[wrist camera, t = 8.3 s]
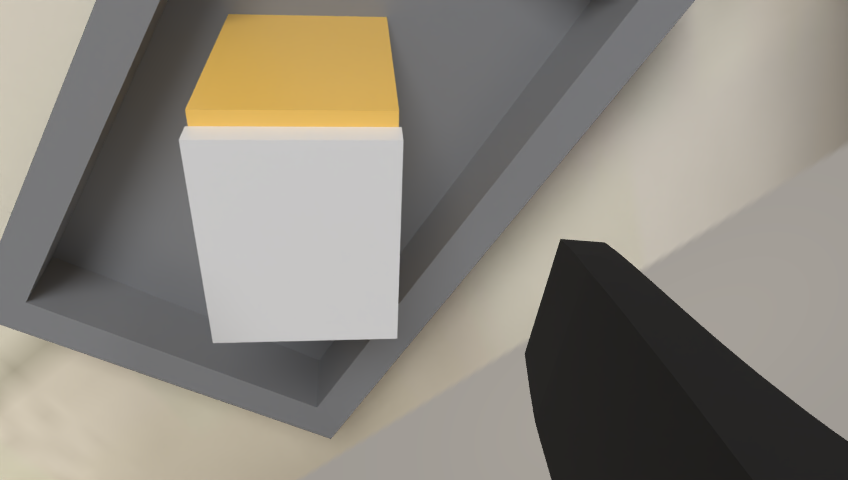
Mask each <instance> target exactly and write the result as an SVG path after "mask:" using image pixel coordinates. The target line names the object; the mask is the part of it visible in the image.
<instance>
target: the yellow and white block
mask: <svg viewBox="0 0 848 480" xmlns="http://www.w3.org/2000/svg"><path fill="white" fill-rule="evenodd" d="M185 112H186V118H187V124H188V126H185V127H184V129H183V131H182V134H181V136H180V138H179V145H180V151H181V157H182V162H183V168H184V174H185V180H186V186H187V192H188V198H189V204H190V210H191V216H192V222H193V228H194V234H195V240H196V246H197V251H198V257H199V263H200V269H201V275H202V281H203V287H204V293H205V299H206V305H207V311H208V317H209V323H210V329H211V335H212V341H213V343H237V342H278V341H319V340H360V339H397V329H398V297H399V265H400V233H401V202H402V170H403V133H402V127H399V106H398V98H397V90H396V83H395V75H394V68H393V60H392V52H391V45H390V37H389V29H388V22H387V17H358V16H303V15H249V14H228V16H227V18H226V20H225V23H224V25H223V27H222V29H221V31H220V34H219V36H218V38H217V40H216V42H215V45H214V47H213V49H212V51H211V53H210V56H209V58H208V60H207V62H206V64H205V67H204V69H203V71H202V73H201V76H200V78H199V80H198V82H197V84H196V87H195V89H194V91H193V93H192V95H191V98H190V100H189V102H188V104H187V106H186V109H185Z"/></svg>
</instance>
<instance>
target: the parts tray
mask: <svg viewBox="0 0 848 480" xmlns="http://www.w3.org/2000/svg"><path fill="white" fill-rule="evenodd" d="M694 1H695V0H96V2H95V5H94V7H93V10H92V12H91V15H90V17H89V20H88V22H87V25H86V27H85V30H84V32H83V35H82V37H81V40H80V42H79V45H78V47H77V50H76V53H75V55H74V58H73V60H72V63H71V65H70V68H69V70H68V73H67V75H66V78H65V80H64V83H63V85H62V88H61V90H60V93H59V95H58V98H57V100H56V103H55V105H54V108H53V110H52V113H51V115H50V118H49V120H48V123H47V125H46V128H45V130H44V133H43V135H42V138H41V141H40V143H39V146H38V148H37V151H36V153H35V156H34V158H33V161H32V163H31V166H30V168H29V171H28V173H27V176H26V178H25V181H24V183H23V186H22V188H21V191H20V193H19V196H18V198H17V201H16V203H15V206H14V208H13V211H12V213H11V216H10V218H9V221H8V223H7V226H6V228H5V231H4V234H3V236H2V239H1V241H0V325H3V326H6V327H9V328H12V329H15V330H17V331H20V332H23V333H26V334H29V335H32V336H35V337H38V338H41V339H44V340H46V341H49V342H52V343H55V344H58V345H61V346H64V347H67V348H70V349H72V350H75V351H78V352H81V353H84V354H87V355H90V356H93V357H96V358H98V359H101V360H104V361H107V362H110V363H113V364H116V365H119V366H122V367H125V368H127V369H130V370H133V371H136V372H139V373H142V374H145V375H148V376H151V377H153V378H156V379H159V380H162V381H165V382H168V383H171V384H174V385H177V386H180V387H182V388H185V389H188V390H191V391H194V392H197V393H200V394H203V395H206V396H208V397H211V398H214V399H217V400H220V401H223V402H226V403H229V404H232V405H234V406H237V407H240V408H243V409H246V410H249V411H252V412H255V413H258V414H261V415H263V416H266V417H269V418H272V419H275V420H278V421H281V422H284V423H287V424H289V425H292V426H295V427H298V428H301V429H304V430H307V431H310V432H313V433H316V434H318V435H321V436H324V437H327V438H330V439H331V438H332V437H333V436H334V434H335V433H336V432H337V431H338V430H339V428H340V427H341V426H342V425H343V424H344V422H345V421H346V420H347V419H348V418H349V416H350V415H351V414H352V413H353V412H354V410H355V409H356V408H357V407H358V406H359V404H360V403H361V402H362V401H363V399H364V398H365V397H366V396H367V395H368V393H369V392H370V391H371V390H372V389H373V387H374V386H375V385H376V384H377V383H378V381H379V380H380V379H381V378H382V377H383V375H384V374H385V373H386V372H387V371H388V369H389V368H390V367H391V366H392V365H393V363H394V362H395V361H396V360H397V359H398V357H399V356H400V355H401V354H402V353H403V351H404V350H405V349H406V348H407V346H408V345H409V344H410V343H411V342H412V340H413V339H414V338H415V337H416V336H417V334H418V333H419V332H420V331H421V330H422V328H423V327H424V326H425V325H426V324H427V322H428V321H429V320H430V319H431V318H432V316H433V315H434V314H435V313H436V312H437V310H438V309H439V308H440V307H441V306H442V304H443V303H444V302H445V301H446V300H447V298H448V297H449V296H450V295H451V293H452V292H453V291H454V290H455V289H456V287H457V286H458V285H459V284H460V283H461V281H462V280H463V279H464V278H465V277H466V275H467V274H468V273H469V272H470V271H471V269H472V268H473V267H474V266H475V265H476V263H477V262H478V261H479V260H480V259H481V257H482V256H483V255H484V254H485V253H486V251H487V250H488V249H489V248H490V247H491V245H492V244H493V243H494V242H495V241H496V239H497V238H498V237H499V236H500V234H501V233H502V232H503V231H504V230H505V228H506V227H507V226H508V225H509V224H510V222H511V221H512V220H513V219H514V218H515V216H516V215H517V214H518V213H519V212H520V210H521V209H522V208H523V207H524V206H525V204H526V203H527V202H528V201H529V200H530V198H531V197H532V196H533V195H534V194H535V192H536V191H537V190H538V189H539V188H540V186H541V185H542V184H543V183H544V181H545V180H546V179H547V178H548V177H549V175H550V174H551V173H552V172H553V171H554V169H555V168H556V167H557V166H558V165H559V163H560V162H561V161H562V160H563V159H564V157H565V156H566V155H567V154H568V153H569V151H570V150H571V149H572V148H573V147H574V145H575V144H576V143H577V142H578V141H579V139H580V138H581V137H582V136H583V135H584V133H585V132H586V131H587V130H588V128H589V127H590V126H591V125H592V124H593V122H594V121H595V120H596V119H597V118H598V116H599V115H600V114H601V113H602V112H603V110H604V109H605V108H606V107H607V106H608V104H609V103H610V102H611V101H612V100H613V98H614V97H615V96H616V95H617V94H618V92H619V91H620V90H621V89H622V88H623V86H624V85H625V84H626V83H627V82H628V80H629V79H630V78H631V77H632V75H633V74H634V73H635V72H636V71H637V69H638V68H639V67H640V66H641V65H642V63H643V62H644V61H645V60H646V59H647V57H648V56H649V55H650V54H651V53H652V51H653V50H654V49H655V48H656V47H657V45H658V44H659V43H660V42H661V41H662V39H663V38H664V37H665V36H666V35H667V33H668V32H669V31H670V30H671V29H672V27H673V26H674V25H675V24H676V22H677V21H678V20H679V19H680V18H681V16H682V15H683V14H684V13H685V12H686V10H687V9H688V8H689V7H690V6H691V4H692V3H693V2H694ZM228 14H249V15H303V16H358V17H387V22H388V29H389V37H390V45H391V52H392V60H393V68H394V75H395V83H396V90H397V98H398V106H399V127H402V133H403V170H402V202H401V233H400V265H399V297H398V329H397V339H360V340H319V341H278V342H237V343H213V341H212V335H211V329H210V323H209V317H208V311H207V305H206V299H205V293H204V287H203V281H202V275H201V269H200V263H199V257H198V251H197V246H196V240H195V234H194V228H193V222H192V216H191V210H190V204H189V198H188V192H187V186H186V180H185V174H184V168H183V162H182V157H181V151H180V145H179V138H180V136H181V134H182V131H183V129H184V127H185V126H188V124H187V118H186V112H185V109H186V106H187V104H188V102H189V100H190V98H191V95H192V93H193V91H194V89H195V87H196V84H197V82H198V80H199V78H200V76H201V73H202V71H203V69H204V67H205V64H206V62H207V60H208V58H209V56H210V53H211V51H212V49H213V47H214V45H215V42H216V40H217V38H218V36H219V34H220V31H221V29H222V27H223V25H224V23H225V20H226V18H227V16H228Z"/></svg>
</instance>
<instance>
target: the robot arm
mask: <svg viewBox="0 0 848 480" xmlns="http://www.w3.org/2000/svg"><path fill="white" fill-rule="evenodd" d="M525 358H526V366H527V373H528V380H529V387H530V394H531V399H532V406H533V412H534V418H535V423H536V427H537V430H538V434H539V438H540V441H541V444H542V448H543V451H544V455H545V459H546V462H547V465H548V469H549V472H550V476H551V479H552V480H848V441H847V440H845V439H844V438H842V437H841V436H839V435H838V434H837V433H835V432H834V431H832V430H831V429H830V428H828V427H827V426H825V425H824V424H823V423H822V422H820V421H819V420H817V419H816V418H815V417H813V416H812V415H811V414H809V413H808V412H807V411H805V410H804V409H803V408H801V407H800V406H799V405H798V404H796V403H795V402H794V401H793V400H791V399H790V398H789V397H787V396H786V395H785V394H784V393H782V392H781V391H780V390H779V389H777V388H776V387H775V386H773V385H772V384H771V383H770V382H768V381H767V380H766V379H764V378H763V377H762V376H761V375H759V374H758V373H757V372H755V370H753V369H752V368H751V367H750V366H748V365H747V364H746V363H745V362H744V361H742V360H741V359H740V358H739V357H738V356H736V355H735V354H734V353H733V352H732V351H730V350H729V349H728V348H727V347H726V346H724V345H723V344H722V343H721V342H720V341H719V340H717V339H716V338H715V337H714V336H713V335H711V333H709V332H708V331H707V330H706V329H705V328H704V327H702V326H701V325H700V324H699V323H698V322H697V321H696V320H694V319H693V318H692V317H691V316H690V315H689V314H688V313H686V312H685V311H684V310H683V309H682V308H681V307H680V306H679V305H677V304H676V303H675V302H674V301H673V300H672V299H671V298H669V297H668V296H667V295H666V294H665V293H664V292H663V291H662V290H661V289H659V288H658V287H657V286H656V285H655V284H654V283H653V282H652V281H650V280H649V279H648V278H647V277H646V276H645V275H644V274H642V273H641V272H640V271H639V270H638V269H637V268H636V267H634V266H633V265H632V264H631V263H630V262H629V261H627V260H626V259H625V258H624V257H623V256H622V255H620V254H619V253H618V252H617V251H615V250H614V249H613V248H611V247H610V246H609V245H607V244H606V243H603V242H591V241H578V240H565V239H560V242H559V246H558V249H557V252H556V255H555V258H554V262H553V265H552V268H551V271H550V275H549V278H548V281H547V284H546V287H545V291H544V294H543V297H542V300H541V303H540V307H539V310H538V313H537V316H536V319H535V323H534V326H533V329H532V332H531V335H530V339H529V342H528V345H527V348H526V352H525Z"/></svg>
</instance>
